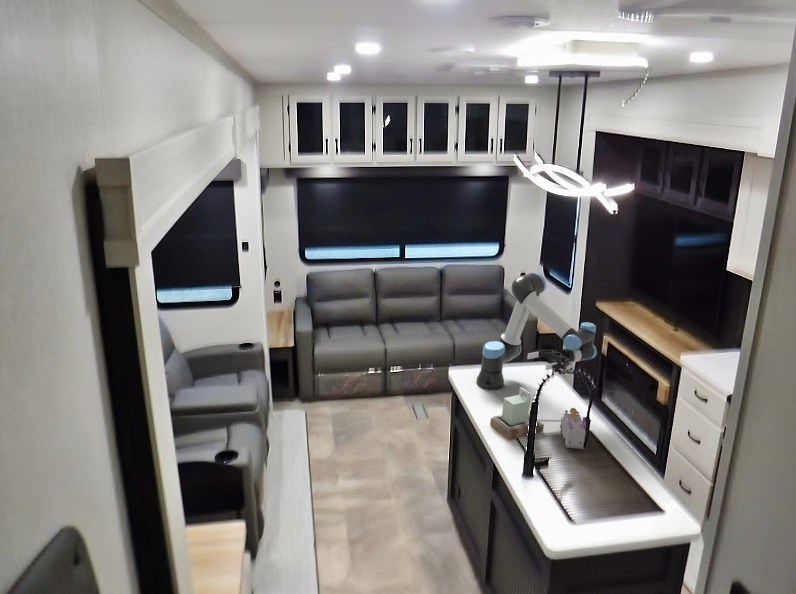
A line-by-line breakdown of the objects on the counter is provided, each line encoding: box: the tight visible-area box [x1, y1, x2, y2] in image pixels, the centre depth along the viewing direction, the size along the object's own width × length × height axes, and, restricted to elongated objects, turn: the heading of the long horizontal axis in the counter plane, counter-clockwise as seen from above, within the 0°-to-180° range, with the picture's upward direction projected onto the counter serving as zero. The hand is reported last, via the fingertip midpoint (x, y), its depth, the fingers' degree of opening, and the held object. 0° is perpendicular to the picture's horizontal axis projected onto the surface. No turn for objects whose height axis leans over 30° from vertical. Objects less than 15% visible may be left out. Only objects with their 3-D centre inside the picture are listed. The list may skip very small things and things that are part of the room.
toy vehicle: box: [559, 407, 587, 450], centre depth 290 cm, size 9×20×15 cm, turn 174°
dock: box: [489, 412, 545, 441], centre depth 300 cm, size 20×15×6 cm
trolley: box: [501, 386, 531, 427], centre depth 296 cm, size 10×7×16 cm
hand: (536, 361), depth 303 cm, fingers open, 13 cm apart
